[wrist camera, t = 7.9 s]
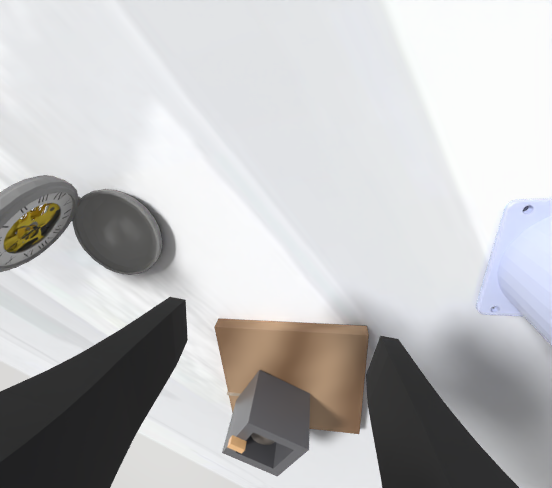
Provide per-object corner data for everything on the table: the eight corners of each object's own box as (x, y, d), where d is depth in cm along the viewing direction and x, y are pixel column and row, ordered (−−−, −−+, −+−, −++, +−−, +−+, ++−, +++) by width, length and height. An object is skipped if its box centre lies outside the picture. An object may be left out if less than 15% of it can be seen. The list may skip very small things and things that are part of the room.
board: (366, 325, 22) (376, 375, 18) (358, 423, 27) (364, 478, 23) (217, 318, 24) (196, 361, 20) (235, 410, 29) (222, 459, 25)
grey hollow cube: (310, 393, 25) (308, 458, 20) (283, 421, 27) (276, 485, 23) (256, 368, 24) (242, 429, 20) (233, 398, 27) (216, 459, 22)
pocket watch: (171, 272, 23) (72, 382, 14) (75, 261, 24) (-75, 356, 15) (155, 167, 19) (5, 224, 10) (42, 159, 20) (-184, 205, 11)
